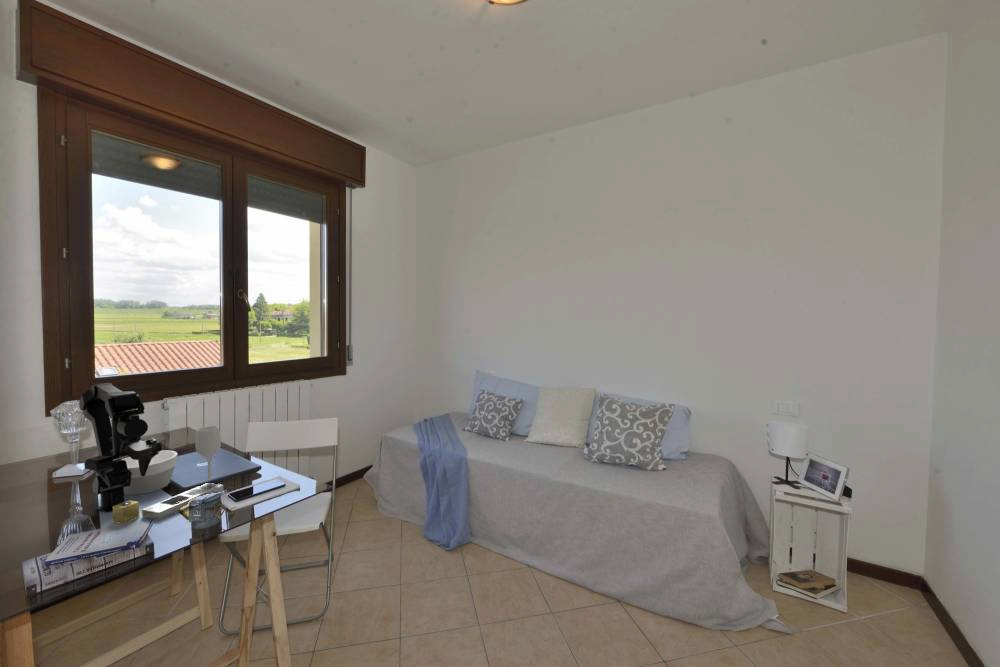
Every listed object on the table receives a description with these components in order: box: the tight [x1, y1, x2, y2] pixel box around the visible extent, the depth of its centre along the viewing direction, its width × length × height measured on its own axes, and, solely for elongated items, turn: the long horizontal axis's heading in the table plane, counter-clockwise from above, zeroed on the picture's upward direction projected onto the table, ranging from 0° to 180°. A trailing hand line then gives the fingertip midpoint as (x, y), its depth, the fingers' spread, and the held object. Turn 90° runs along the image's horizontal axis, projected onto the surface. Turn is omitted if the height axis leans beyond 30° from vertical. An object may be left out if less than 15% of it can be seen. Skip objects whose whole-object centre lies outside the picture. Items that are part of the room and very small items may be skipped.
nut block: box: [112, 499, 140, 524], centre depth 135 cm, size 4×4×5 cm
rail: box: [141, 483, 224, 521], centre depth 146 cm, size 8×22×3 cm, turn 162°
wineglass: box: [194, 425, 222, 479], centre depth 163 cm, size 9×9×21 cm
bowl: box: [121, 449, 178, 496], centre depth 160 cm, size 19×19×11 cm
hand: (127, 481), depth 135 cm, fingers open, 9 cm apart
